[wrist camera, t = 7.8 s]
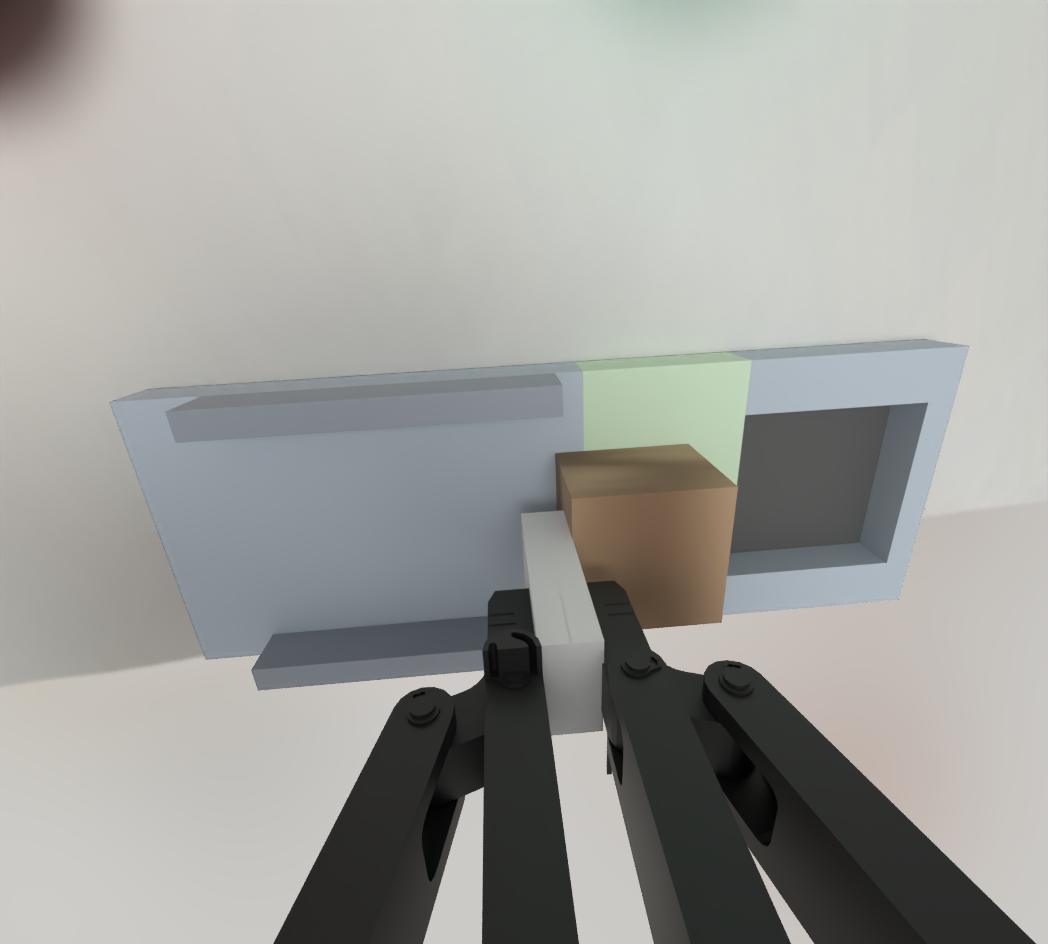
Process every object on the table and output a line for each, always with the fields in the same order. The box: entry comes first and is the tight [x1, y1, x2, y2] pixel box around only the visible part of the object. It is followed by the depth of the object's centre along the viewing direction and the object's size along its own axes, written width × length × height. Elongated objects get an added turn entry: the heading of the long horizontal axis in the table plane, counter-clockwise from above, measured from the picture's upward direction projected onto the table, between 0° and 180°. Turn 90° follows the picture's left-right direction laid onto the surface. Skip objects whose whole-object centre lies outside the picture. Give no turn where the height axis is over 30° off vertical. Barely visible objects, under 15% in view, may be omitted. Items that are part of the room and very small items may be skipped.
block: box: [555, 444, 738, 629], centre depth 17 cm, size 5×5×4 cm
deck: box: [109, 339, 969, 690], centre depth 19 cm, size 30×11×4 cm, turn 93°
